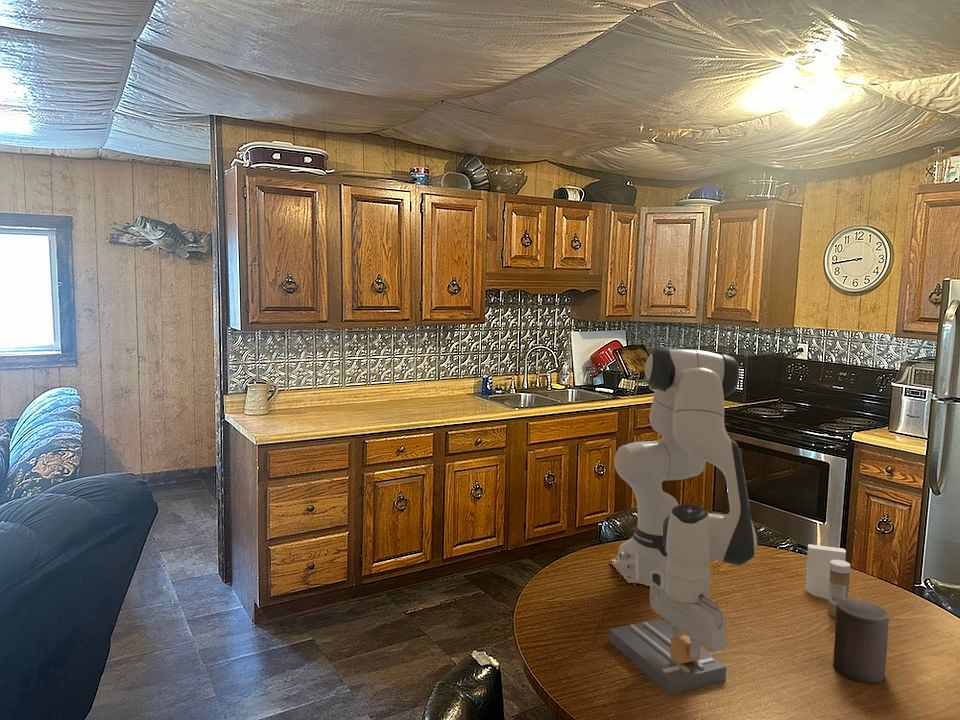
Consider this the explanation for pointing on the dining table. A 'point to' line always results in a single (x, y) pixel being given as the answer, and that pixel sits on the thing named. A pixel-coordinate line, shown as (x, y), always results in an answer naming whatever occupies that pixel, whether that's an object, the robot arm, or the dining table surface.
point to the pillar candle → (861, 640)
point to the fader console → (665, 657)
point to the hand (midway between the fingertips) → (685, 650)
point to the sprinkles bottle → (838, 584)
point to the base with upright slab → (821, 568)
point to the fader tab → (682, 650)
